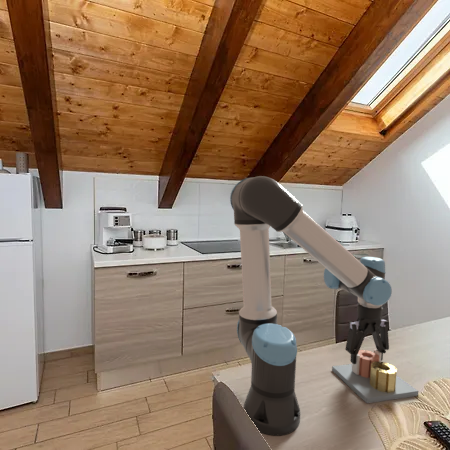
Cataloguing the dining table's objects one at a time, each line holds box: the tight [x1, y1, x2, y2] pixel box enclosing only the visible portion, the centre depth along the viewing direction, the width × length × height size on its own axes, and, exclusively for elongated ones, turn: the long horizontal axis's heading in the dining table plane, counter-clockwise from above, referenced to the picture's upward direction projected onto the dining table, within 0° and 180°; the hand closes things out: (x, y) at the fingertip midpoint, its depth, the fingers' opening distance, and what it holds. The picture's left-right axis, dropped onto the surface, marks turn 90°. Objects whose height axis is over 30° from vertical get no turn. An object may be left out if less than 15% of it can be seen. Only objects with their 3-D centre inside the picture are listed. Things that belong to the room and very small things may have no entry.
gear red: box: [358, 349, 379, 378], centre depth 106 cm, size 7×7×6 cm
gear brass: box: [370, 361, 398, 393], centre depth 99 cm, size 7×7×6 cm
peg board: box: [331, 356, 419, 404], centre depth 103 cm, size 18×18×6 cm
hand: (365, 370), depth 107 cm, fingers open, 7 cm apart
